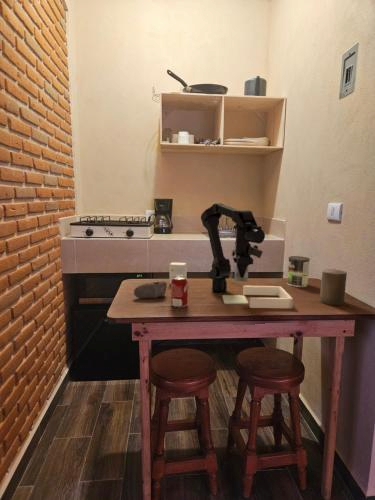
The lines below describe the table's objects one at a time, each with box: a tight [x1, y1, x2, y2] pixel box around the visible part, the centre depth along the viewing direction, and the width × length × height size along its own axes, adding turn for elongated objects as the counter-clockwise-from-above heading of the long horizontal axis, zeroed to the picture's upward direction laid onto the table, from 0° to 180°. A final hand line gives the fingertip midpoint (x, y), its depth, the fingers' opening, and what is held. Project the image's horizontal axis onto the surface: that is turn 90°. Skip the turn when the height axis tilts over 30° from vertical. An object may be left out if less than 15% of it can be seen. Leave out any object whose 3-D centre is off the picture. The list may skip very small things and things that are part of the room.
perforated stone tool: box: [133, 281, 168, 299], centre depth 139 cm, size 15×5×7 cm, turn 105°
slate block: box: [233, 263, 250, 282], centre depth 135 cm, size 5×5×7 cm
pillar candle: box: [319, 268, 348, 306], centre depth 135 cm, size 10×10×15 cm
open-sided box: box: [242, 285, 294, 309], centre depth 137 cm, size 17×18×4 cm
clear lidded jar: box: [286, 255, 311, 288], centre depth 162 cm, size 10×10×14 cm
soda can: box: [170, 276, 189, 309], centre depth 128 cm, size 7×7×12 cm
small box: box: [168, 261, 188, 285], centre depth 162 cm, size 8×6×10 cm
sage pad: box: [222, 294, 249, 305], centre depth 137 cm, size 10×10×1 cm
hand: (240, 276), depth 135 cm, fingers closed on slate block, 5 cm apart
